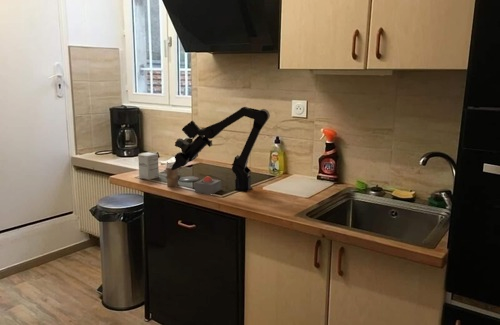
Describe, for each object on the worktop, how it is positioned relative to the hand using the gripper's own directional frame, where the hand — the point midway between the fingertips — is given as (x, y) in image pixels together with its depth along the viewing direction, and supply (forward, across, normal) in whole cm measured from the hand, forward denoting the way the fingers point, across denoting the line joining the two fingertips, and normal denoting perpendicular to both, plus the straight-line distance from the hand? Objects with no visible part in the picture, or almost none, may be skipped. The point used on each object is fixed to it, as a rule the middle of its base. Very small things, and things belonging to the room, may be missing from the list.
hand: (175, 167), depth 198 cm
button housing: (-6, +5, +19) cm, 21 cm away
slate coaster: (+5, -12, +8) cm, 16 cm away
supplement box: (+20, -12, -7) cm, 25 cm away
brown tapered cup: (+8, 0, +5) cm, 9 cm away
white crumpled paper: (+12, -17, +1) cm, 21 cm away
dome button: (-7, +5, +19) cm, 20 cm away
